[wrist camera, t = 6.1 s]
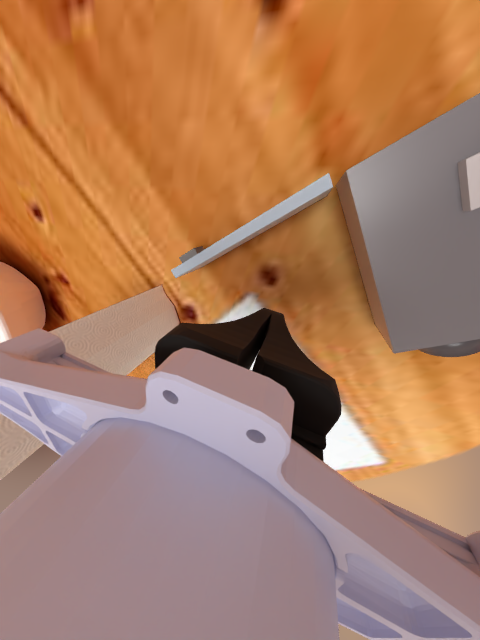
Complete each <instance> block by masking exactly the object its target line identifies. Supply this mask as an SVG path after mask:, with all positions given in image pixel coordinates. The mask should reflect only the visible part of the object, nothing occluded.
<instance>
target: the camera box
mask: <svg viewBox="0 0 480 640" xmlns="http://www.w3.org/2000/svg"><path fill="white" fill-rule="evenodd" d="M336 188H337V191H338V195H339V198H340V202H341V206H342V209H343V213H344V216H345V220H346V223H347V227H348V231H349V234H350V238H351V241H352V245H353V248H354V252H355V256H356V259H357V263H358V266H359V270H360V273H361V277H362V281H363V284H364V288H365V291H366V295H367V298H368V302H369V306H370V309H371V313H372V316H373V320H374V323H375V325H376V327H377V328H378V330H379V331H380V333H381V335H382V336H383V338H384V339H385V341H386V342H387V344H388V345H389V347H390V348H391V350H392V351H393V353H399V352H405V351H411V350H417V349H418V350H420V351H422V352H424V353H427V354H430V355H435V356H442V357H460V356H467V355H471V354H475V353H477V352H480V93H479V94H477V95H476V96H474V97H472V98H470V99H469V100H467V101H465V102H464V103H462V104H460V105H458V106H457V107H455V108H453V109H452V110H450V111H448V112H446V113H445V114H443V115H441V116H439V117H438V118H436V119H434V120H433V121H431V122H429V123H427V124H426V125H424V126H422V127H421V128H419V129H417V130H415V131H414V132H412V133H410V134H408V135H407V136H405V137H403V138H402V139H400V140H398V141H396V142H395V143H393V144H391V145H390V146H388V147H386V148H384V149H383V150H381V151H379V152H377V153H376V154H374V155H372V156H371V157H369V158H367V159H365V160H364V161H362V162H360V163H359V164H357V165H355V166H353V167H352V168H350V169H348V170H347V171H346V172H345V173H344V175H343V176H342V177H341V179H340V180H339V182H338V183H337V185H336Z"/></svg>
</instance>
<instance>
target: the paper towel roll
mask: <svg viewBox="0 0 480 640" xmlns="http://www.w3.org/2000/svg"><path fill="white" fill-rule="evenodd" d="M179 323H180V322H179V319H178V316H177V313H176V310H175V307H174V305H173V304H172V303H171V301H170V300H169V299H168V297H167V296H166V294H165V292H164V290H163V287H162V285H160V286H158V287H155V288H153V289H150V290H148V291H146V292H143V293H141V294H138V295H136V296H133V297H131V298H129V299H126V300H124V301H121V302H119V303H117V304H114V305H112V306H109V307H107V308H105V309H102V310H100V311H97V312H95V313H93V314H90V315H88V316H85V317H83V318H81V319H78V320H76V321H73V322H71V323H69V324H66V325H64V326H61V327H59V328H56V329H54V330H52V331H49V332H50V333H52V334H54V335H56V336H58V337H59V338H61V340H62V341H63V342H64V344H65V348H66V352H67V353H69V354H71V355H73V356H75V357H78V358H80V359H82V360H84V361H86V362H88V363H91V364H93V365H95V366H97V367H99V368H101V369H103V370H106V371H108V372H110V373H112V374H118V375H125V376H126V375H127V374H129V373H130V372H131V371H132V370H133V369H135V368H136V367H137V366H138V365H139V364H141V363H142V362H143V361H144V360H145V359H147V358H148V357H149V356H150V355H151V354H153V353H154V352H155V346H156V344H157V342H158V341H159V340H160V339H161V338H162V337H163V336H165V335H166V334H167V333H168V332H170V331H171V330H172V329H173V328H175V327H176V326H178V325H179ZM43 444H44V443H43V442H41V441H40V440H39V439H37V438H36V437H34V436H33V435H32V434H30V433H29V432H27V431H26V430H25V429H23V428H22V427H20V426H19V425H17V424H16V423H14V422H13V421H11V420H10V419H8V418H7V417H5V416H4V415H2V414H0V480H1V479H2V478H3V477H4V476H6V475H7V474H8V473H9V472H11V471H12V470H13V469H14V468H15V467H17V466H18V465H19V464H20V463H21V462H22V461H24V460H25V459H26V458H27V457H29V456H30V455H31V454H32V453H34V452H35V451H36V450H37V449H38V448H40V447H41V446H42V445H43Z"/></svg>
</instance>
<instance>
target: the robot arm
mask: <svg viewBox="0 0 480 640" xmlns="http://www.w3.org/2000/svg"><path fill="white" fill-rule="evenodd" d="M259 350H260V351H259ZM258 352H259V353H258ZM257 354H258V355H257ZM256 356H257V358H256ZM255 358H256V361H255V364H254V367H253V370H252V371H251V370H249V369H250V367H251V365H252V363H253V362H254V360H255ZM0 414H2V415H4V416H5V417H7V418H8V419H10V420H11V421H13V422H14V423H16V424H17V425H19V426H20V427H22V428H23V429H25V430H26V431H27V432H29V433H30V434H32V435H33V436H34V437H36V438H37V439H39V440H40V441H41V442H43V443H44V444H46V445H47V446H48V447H50V448H51V449H52V450H54V451H55V452H56V453H58V454H59V455H61V457H60V458H59V459H58V460H57V461H56V462H55V463H54V464H53V465H52V466H51V467H49V469H47V470H46V471H45V472H44V473H43V474H42V475H41V476H40V477H39V478H38V479H37V480H36V481H35V482H33V484H31V485H30V486H29V487H28V488H27V489H26V490H25V491H24V492H23V493H22V494H21V495H20V496H19V497H18V498H16V499H15V500H14V501H13V502H12V503H11V504H10V505H9V506H8V507H7V508H6V509H5V510H4V511H3V512H1V513H0V640H339V629H338V624H340V625H342V626H344V627H346V628H348V629H350V630H352V631H354V632H356V633H358V634H360V635H362V636H364V637H366V638H368V639H370V640H480V531H476V532H473V533H471V534H469V535H468V536H467V537H466V538H465V537H463V536H461V535H459V534H457V533H454V532H452V531H450V530H448V529H446V528H444V527H442V526H439V525H437V524H435V523H433V522H431V521H429V520H427V519H424V518H422V517H420V516H418V515H416V514H413V513H411V512H409V511H407V510H405V509H403V508H401V507H399V506H396V505H394V504H392V503H390V502H388V501H385V500H383V499H381V498H379V497H377V496H375V495H373V494H371V493H368V492H366V491H364V490H362V489H360V488H358V487H357V486H355V485H354V484H353V483H351V482H350V481H349V480H347V479H346V478H344V477H343V476H342V475H340V474H339V473H338V472H336V471H335V470H334V469H332V468H331V467H329V466H328V465H327V464H325V463H324V462H323V450H324V449H325V447H326V435H327V433H328V432H329V431H330V430H331V428H332V427H333V426H334V424H335V423H336V422H337V421H338V419H339V417H340V415H341V401H340V396H339V392H338V388H337V385H336V381H335V379H333V378H332V377H331V376H329V375H328V374H326V373H325V372H324V371H322V370H321V369H320V368H318V367H317V366H316V365H315V364H314V363H313V362H312V361H311V360H309V359H308V358H307V357H306V355H305V354H304V353H303V352H302V351H301V350H300V349H299V347H298V346H297V345H296V343H295V342H294V340H293V339H292V337H291V335H290V333H289V331H288V328H287V326H286V323H285V319H284V315H283V314H281V313H278V312H275V311H272V310H269V309H266V308H263V309H261V310H259V311H257V312H255V313H253V314H251V315H249V316H246V317H244V318H241V319H238V320H235V321H231V322H225V323H217V324H192V323H181V324H179V325H178V326H176V327H175V328H173V329H172V330H171V331H170V332H168V333H167V334H166V335H165V336H163V337H162V338H161V339H160V340H159V341H158V342H157V344H156V346H155V370H154V371H153V372H152V373H151V374H150V375H149V376H148V379H144V378H137V377H131V376H125V375H118V374H112V373H110V372H108V371H106V370H103V369H101V368H99V367H97V366H95V365H93V364H91V363H88V362H86V361H84V360H82V359H80V358H78V357H75V356H73V355H71V354H69V353H67V352H66V348H65V344H64V342H63V341H62V340H61V338H59V337H58V336H56V335H54V334H52V333H50V332H47V331H45V330H43V329H40V328H38V329H35V330H33V331H30V332H28V333H25V334H22V335H20V336H17V337H15V338H12V339H9V340H7V341H4V342H2V343H0Z"/></svg>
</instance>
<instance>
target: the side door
mask: <svg viewBox="0 0 480 640" xmlns="http://www.w3.org/2000/svg"><path fill="white" fill-rule="evenodd" d="M332 188H333V185H332V181H331V178H330V175H329V173H328V174H326V175H325V176H323V177H321V178H320V179H318V180H317V181H315V182H313V183H312V184H310V185H309V186H307V187H305V188H304V189H302V190H300V191H299V192H297V193H296V194H294V195H292V196H291V197H289V198H287V199H286V200H284V201H283V202H281V203H279V204H278V205H276V206H275V207H273V208H271V209H270V210H268V211H266V212H265V213H263V214H262V215H260V216H258V217H257V218H255V219H253V220H252V221H250V222H249V223H247V224H245V225H244V226H242V227H240V228H239V229H237V230H236V231H234V232H232V233H231V234H229V235H228V236H226V237H224V238H223V239H221V240H219V241H218V242H216V243H215V244H213V245H211V246H210V247H208V248H206V249H205V250H204V248H203V246H201V247H196V248H193V249H192V250H190V251H189V252H187V253H185V254H184V255H182V256H181V257H179V258H180V260H181V262H182V264H181V265H179V266H177V267H176V268H174V269H172V270H171V271H172V273H173V275H174V276H175V278H177V277H180V276H182V275H185V274H187V273H190V272H192V271H194V270H197V269H199V268H201V267H203V266H205V265H206V264H208V263H210V262H212V261H213V260H215V259H217V258H219V257H220V256H222V255H224V254H226V253H227V252H229V251H231V250H233V249H235V248H236V247H238V246H240V245H242V244H243V243H245V242H247V241H249V240H250V239H252V238H254V237H256V236H257V235H259V234H261V233H263V232H265V231H266V230H268V229H270V228H272V227H273V226H275V225H277V224H279V223H280V222H282V221H284V220H286V219H287V218H289V217H291V216H293V215H294V214H296V213H298V212H300V211H302V210H303V209H305V208H307V207H309V206H310V205H312V204H314V203H316V202H317V201H319V200H321V199H323V198H324V197H326V196H327V195H328V194H329V192H330V191H331V189H332Z"/></svg>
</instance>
